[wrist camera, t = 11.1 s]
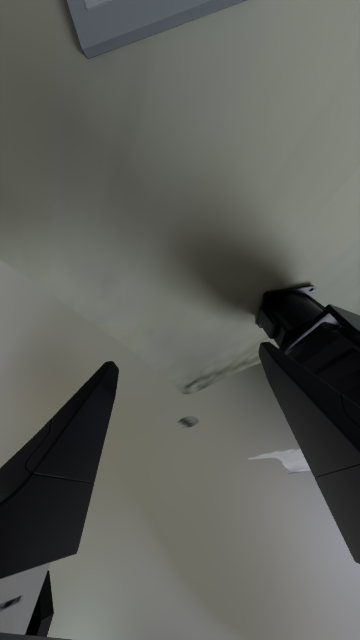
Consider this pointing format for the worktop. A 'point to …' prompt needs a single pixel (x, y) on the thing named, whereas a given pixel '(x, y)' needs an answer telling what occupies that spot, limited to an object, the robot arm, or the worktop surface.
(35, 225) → the worktop surface
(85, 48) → the plate
